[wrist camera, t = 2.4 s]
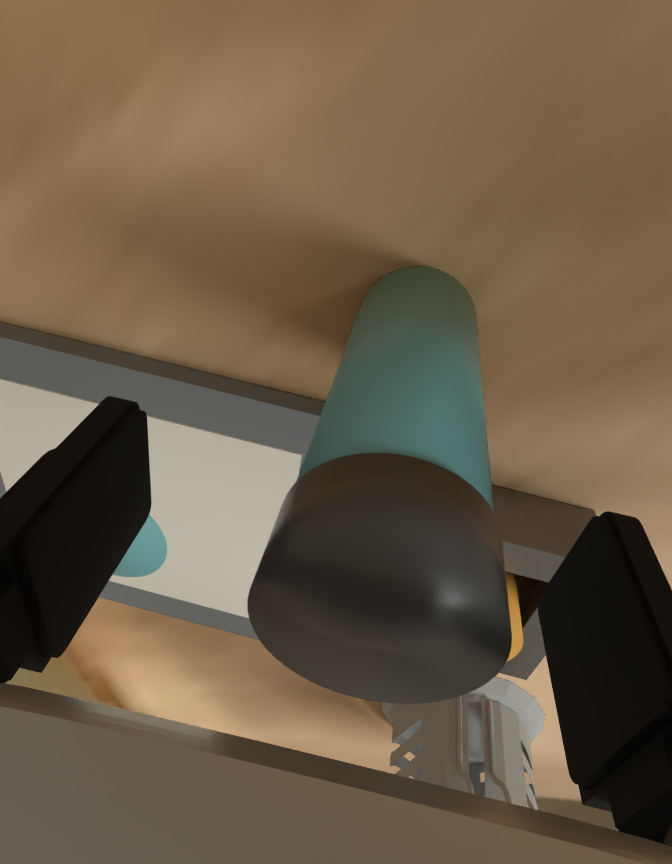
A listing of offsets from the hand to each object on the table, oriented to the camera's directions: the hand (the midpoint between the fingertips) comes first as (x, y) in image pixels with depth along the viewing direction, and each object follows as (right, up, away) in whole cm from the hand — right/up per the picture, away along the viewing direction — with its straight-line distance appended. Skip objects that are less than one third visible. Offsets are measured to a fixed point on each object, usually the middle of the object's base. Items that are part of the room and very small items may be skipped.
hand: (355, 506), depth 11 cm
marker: (+2, +5, +7) cm, 9 cm away
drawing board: (-8, -2, +15) cm, 17 cm away
